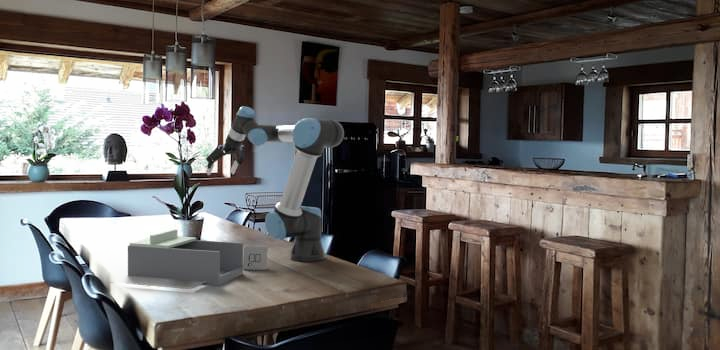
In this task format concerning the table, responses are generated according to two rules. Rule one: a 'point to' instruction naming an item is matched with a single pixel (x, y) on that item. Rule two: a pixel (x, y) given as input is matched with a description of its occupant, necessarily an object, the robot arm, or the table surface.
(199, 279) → the housing
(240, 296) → the table surface
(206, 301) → the table surface
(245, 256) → the electrical switch
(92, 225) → the table surface
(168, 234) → the cover
